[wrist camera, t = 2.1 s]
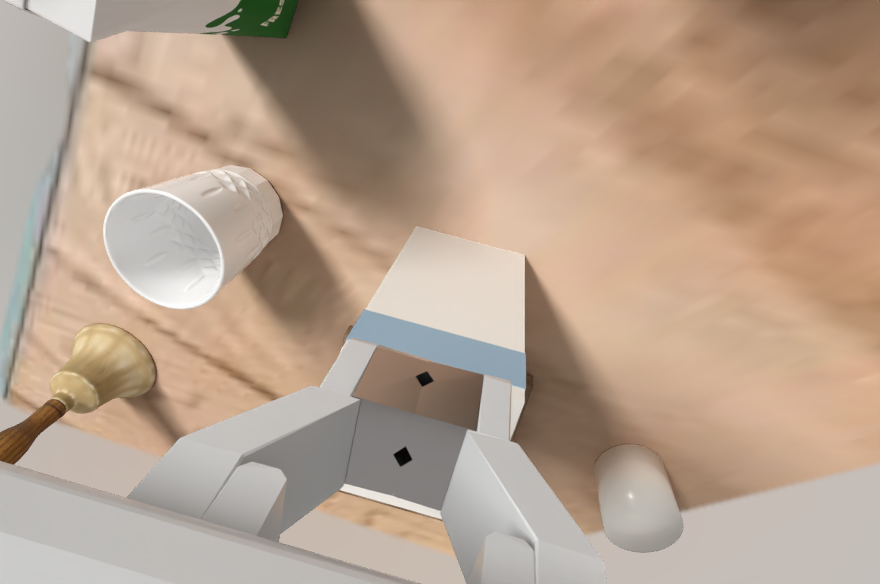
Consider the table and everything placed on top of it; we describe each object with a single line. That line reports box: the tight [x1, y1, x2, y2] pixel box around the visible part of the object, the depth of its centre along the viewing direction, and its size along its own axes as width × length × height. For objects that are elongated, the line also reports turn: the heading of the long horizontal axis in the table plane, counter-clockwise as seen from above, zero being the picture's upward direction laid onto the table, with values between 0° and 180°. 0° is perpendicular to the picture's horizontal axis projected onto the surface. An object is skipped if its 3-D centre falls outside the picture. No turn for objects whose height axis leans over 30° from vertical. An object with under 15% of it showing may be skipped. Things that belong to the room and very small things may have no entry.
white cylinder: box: [594, 444, 683, 553], centre depth 43 cm, size 6×6×6 cm
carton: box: [340, 226, 526, 519], centre depth 33 cm, size 9×9×18 cm
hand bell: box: [0, 324, 156, 465], centre depth 42 cm, size 8×8×16 cm
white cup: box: [103, 165, 283, 309], centre depth 36 cm, size 8×8×10 cm
